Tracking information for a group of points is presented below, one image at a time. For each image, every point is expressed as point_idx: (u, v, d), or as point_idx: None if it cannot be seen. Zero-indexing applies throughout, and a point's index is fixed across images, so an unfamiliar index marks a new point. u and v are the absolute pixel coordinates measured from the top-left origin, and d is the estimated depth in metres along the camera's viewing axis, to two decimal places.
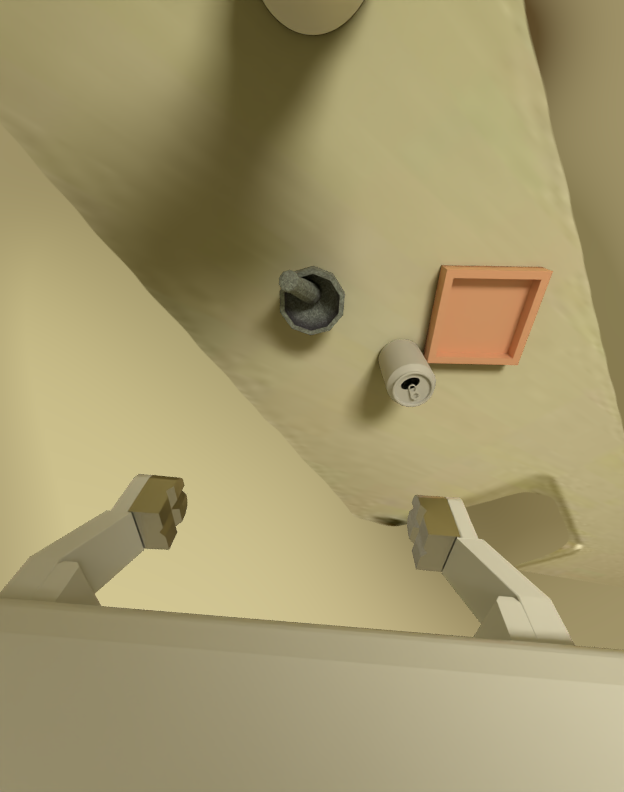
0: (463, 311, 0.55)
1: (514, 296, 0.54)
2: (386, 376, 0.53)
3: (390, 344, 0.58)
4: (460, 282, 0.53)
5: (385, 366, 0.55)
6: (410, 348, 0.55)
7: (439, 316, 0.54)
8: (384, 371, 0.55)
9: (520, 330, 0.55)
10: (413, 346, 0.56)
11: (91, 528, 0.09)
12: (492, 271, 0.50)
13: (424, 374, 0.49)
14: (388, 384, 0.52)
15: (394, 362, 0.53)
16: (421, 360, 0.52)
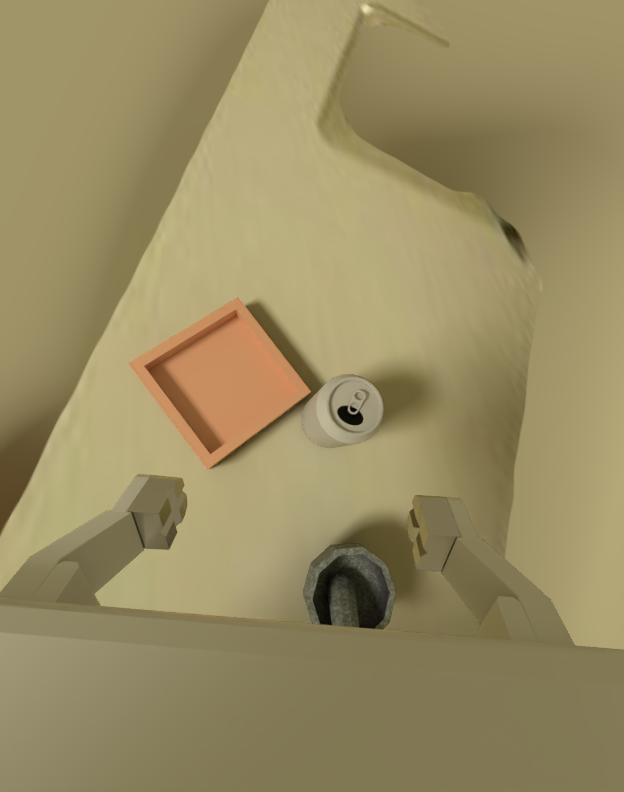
0: (233, 403, 0.43)
1: (180, 369, 0.42)
2: None
3: (323, 446, 0.43)
4: (209, 436, 0.41)
5: None
6: (310, 430, 0.40)
7: (256, 429, 0.41)
8: None
9: (204, 330, 0.42)
10: (306, 425, 0.41)
11: (91, 528, 0.09)
12: (174, 422, 0.39)
13: (327, 412, 0.34)
14: (371, 435, 0.35)
15: (341, 444, 0.37)
16: (314, 419, 0.36)
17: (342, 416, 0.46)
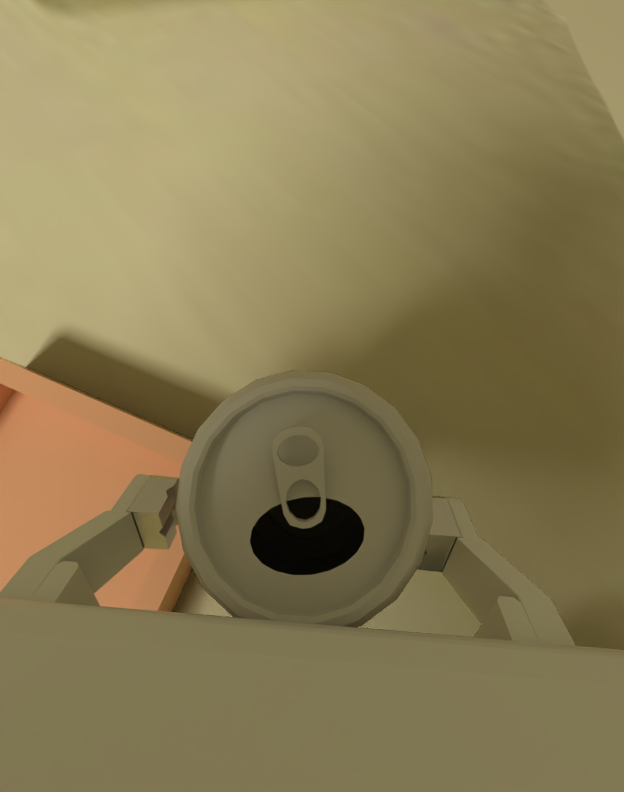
0: None
1: None
2: None
3: (325, 558, 0.17)
4: None
5: None
6: (262, 562, 0.15)
7: None
8: None
9: None
10: (254, 545, 0.16)
11: (91, 528, 0.09)
12: None
13: (210, 586, 0.08)
14: (421, 549, 0.09)
15: None
16: None
17: None
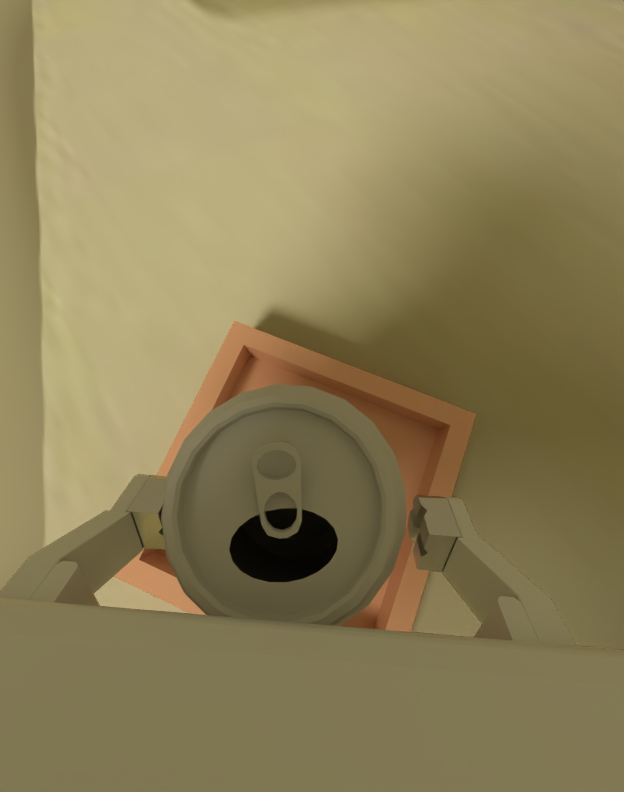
0: None
1: None
2: None
3: (310, 560, 0.18)
4: None
5: None
6: (247, 564, 0.15)
7: None
8: None
9: None
10: (241, 547, 0.16)
11: (90, 528, 0.09)
12: None
13: (190, 591, 0.08)
14: (392, 559, 0.10)
15: None
16: None
17: None
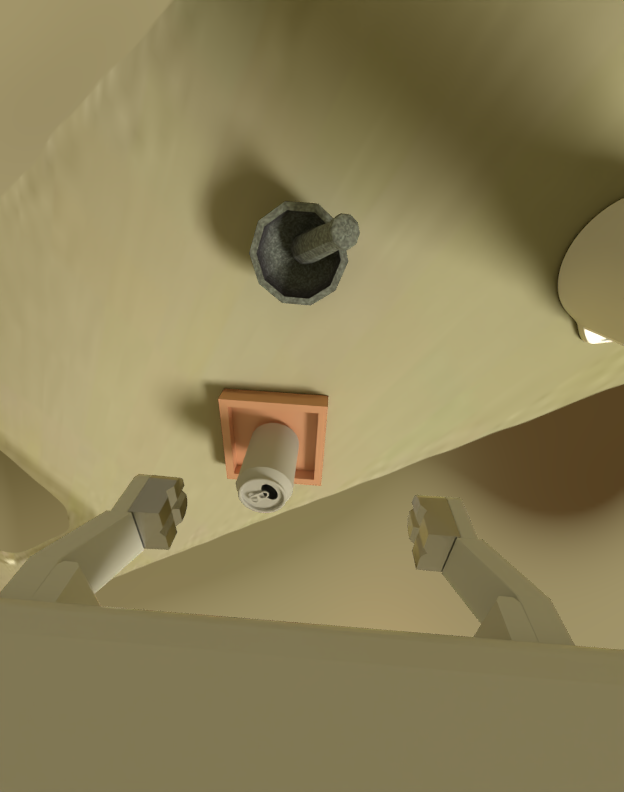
0: (280, 422, 0.51)
1: None
2: (271, 460, 0.43)
3: (294, 436, 0.50)
4: (311, 416, 0.50)
5: (278, 449, 0.46)
6: None
7: (276, 405, 0.47)
8: (272, 450, 0.45)
9: None
10: None
11: (91, 528, 0.09)
12: (323, 443, 0.50)
13: (283, 505, 0.43)
14: (265, 469, 0.42)
15: (287, 463, 0.45)
16: None
17: None
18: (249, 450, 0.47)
